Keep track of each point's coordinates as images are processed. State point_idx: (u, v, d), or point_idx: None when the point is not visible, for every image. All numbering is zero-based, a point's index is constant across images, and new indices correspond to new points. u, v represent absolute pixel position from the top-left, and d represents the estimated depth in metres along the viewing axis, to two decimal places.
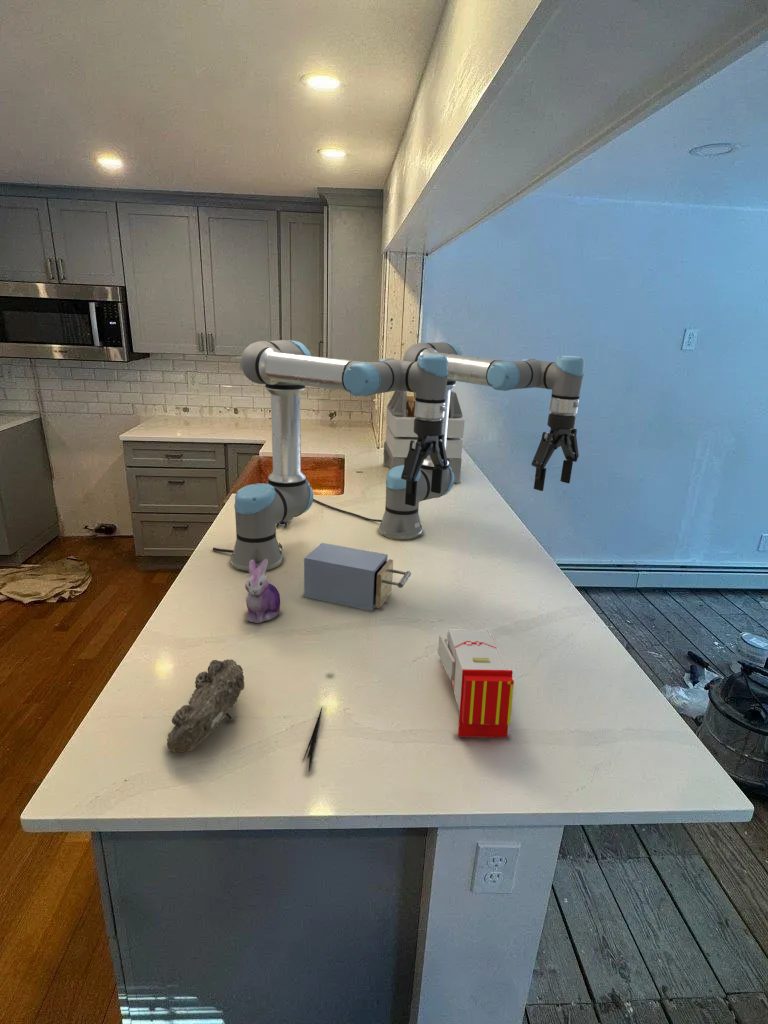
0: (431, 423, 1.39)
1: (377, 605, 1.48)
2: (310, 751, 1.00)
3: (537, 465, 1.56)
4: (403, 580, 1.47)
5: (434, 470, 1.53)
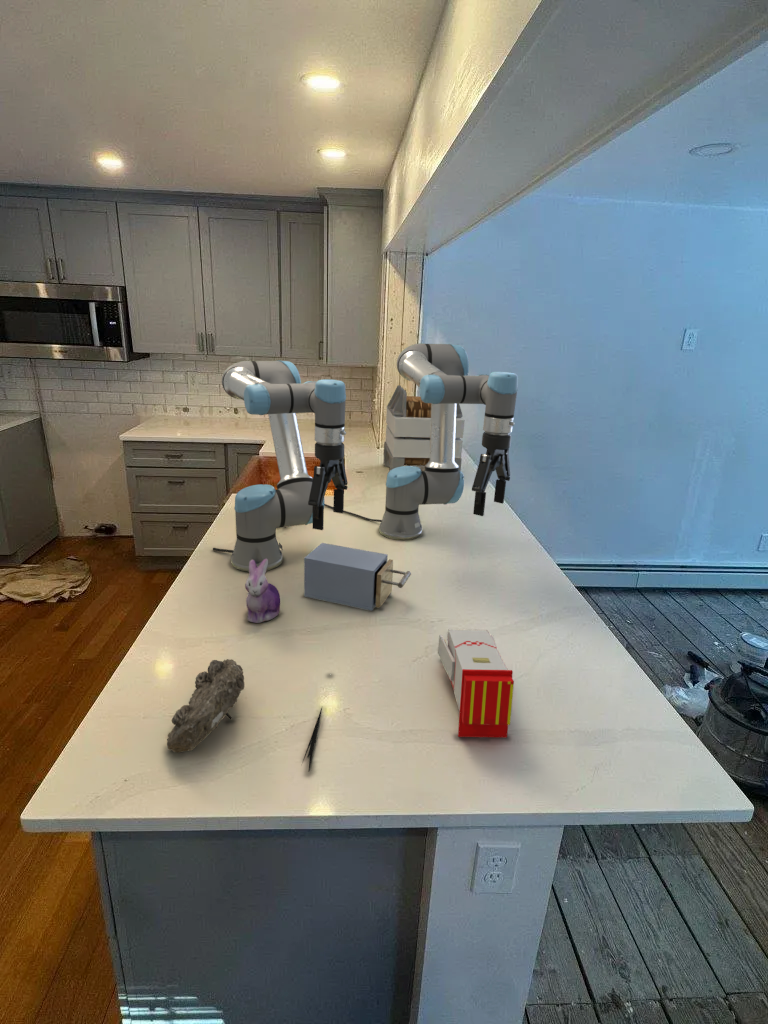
0: (333, 447, 1.41)
1: (377, 605, 1.48)
2: (310, 751, 1.00)
3: (478, 490, 1.46)
4: (403, 580, 1.47)
5: (335, 491, 1.55)
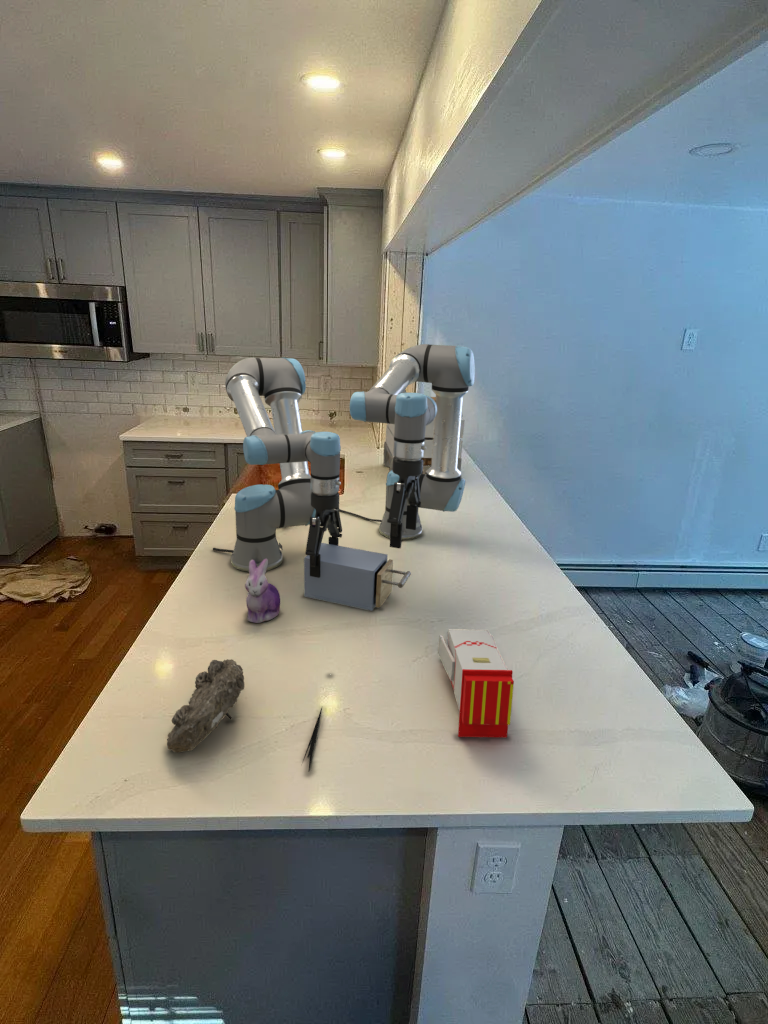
0: (328, 498, 1.45)
1: (377, 605, 1.48)
2: (310, 751, 1.00)
3: (395, 522, 1.34)
4: (403, 580, 1.47)
5: (330, 539, 1.59)
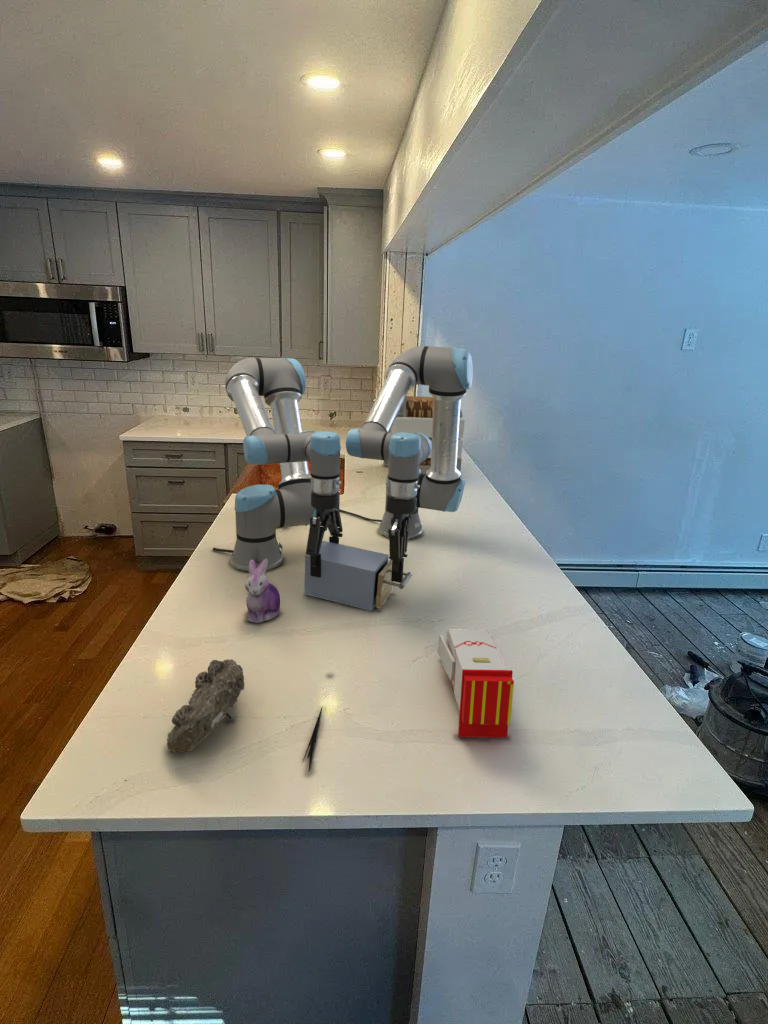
0: (328, 497, 1.45)
1: (377, 605, 1.48)
2: (310, 751, 1.00)
3: (397, 559, 1.43)
4: (404, 581, 1.47)
5: (331, 538, 1.59)
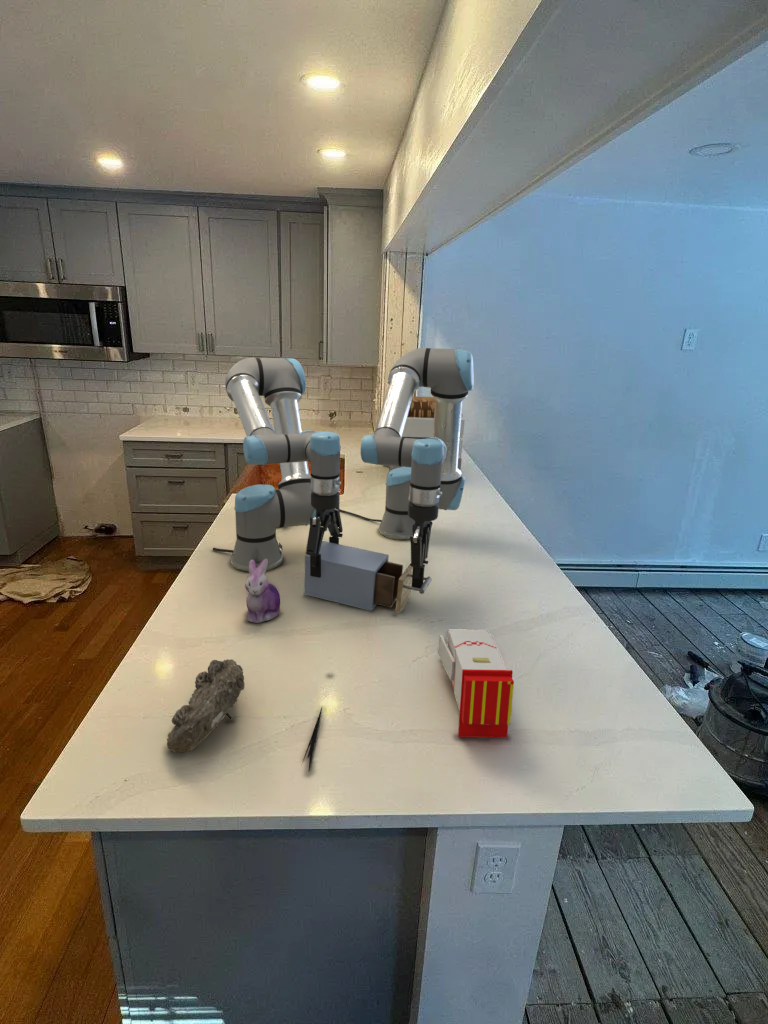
0: (328, 497, 1.45)
1: (397, 610, 1.47)
2: (310, 751, 1.00)
3: (418, 566, 1.42)
4: (424, 586, 1.45)
5: (331, 538, 1.59)
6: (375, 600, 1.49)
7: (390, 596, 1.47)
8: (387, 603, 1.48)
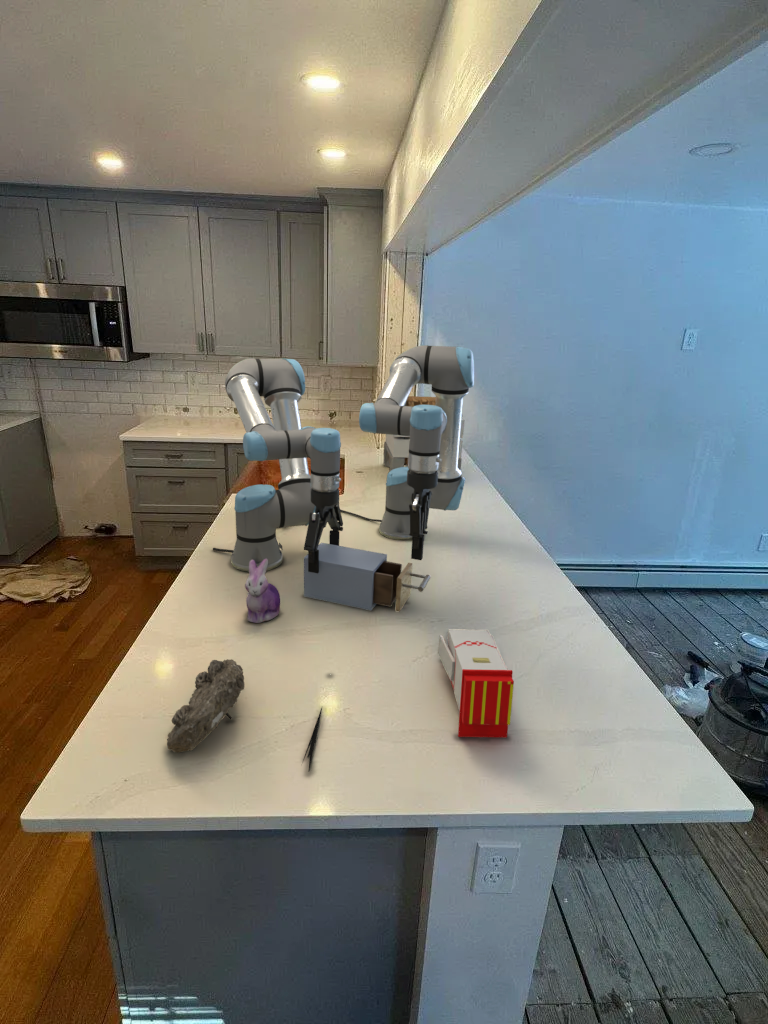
0: (328, 494, 1.45)
1: (397, 609, 1.47)
2: (310, 751, 1.00)
3: (417, 535, 1.40)
4: (423, 584, 1.45)
5: (331, 532, 1.59)
6: (375, 600, 1.49)
7: (389, 595, 1.47)
8: (387, 602, 1.48)
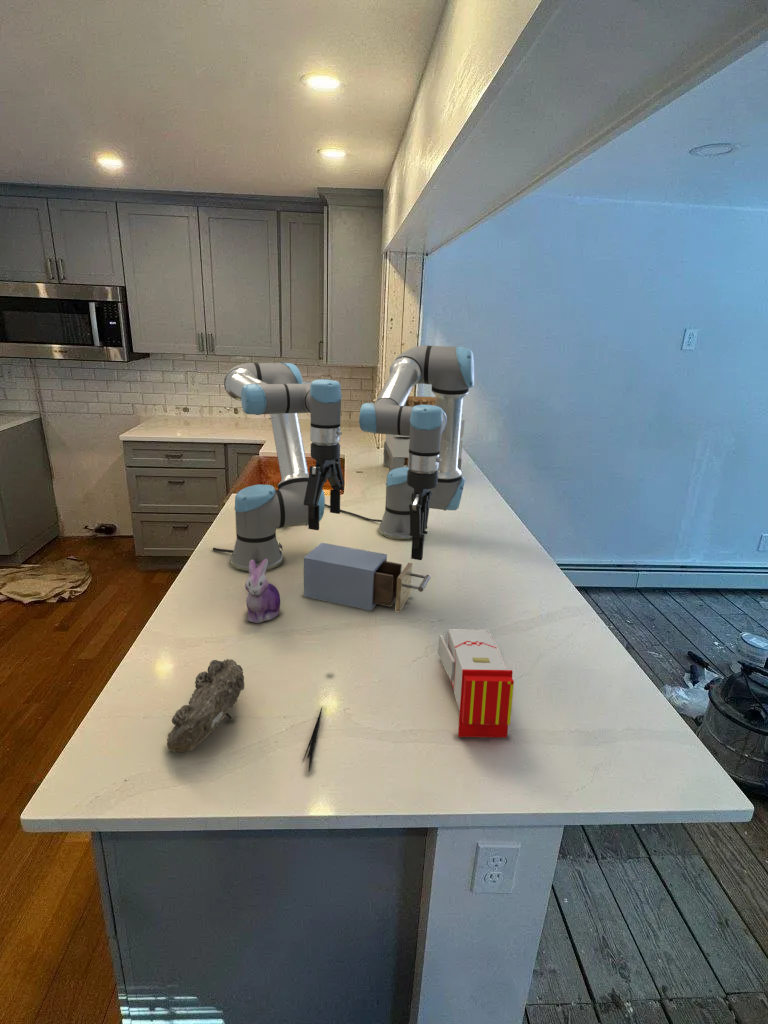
0: (328, 447, 1.41)
1: (397, 609, 1.47)
2: (310, 751, 1.00)
3: (417, 535, 1.40)
4: (423, 584, 1.45)
5: (332, 491, 1.55)
6: (375, 600, 1.49)
7: (389, 595, 1.47)
8: (387, 602, 1.48)
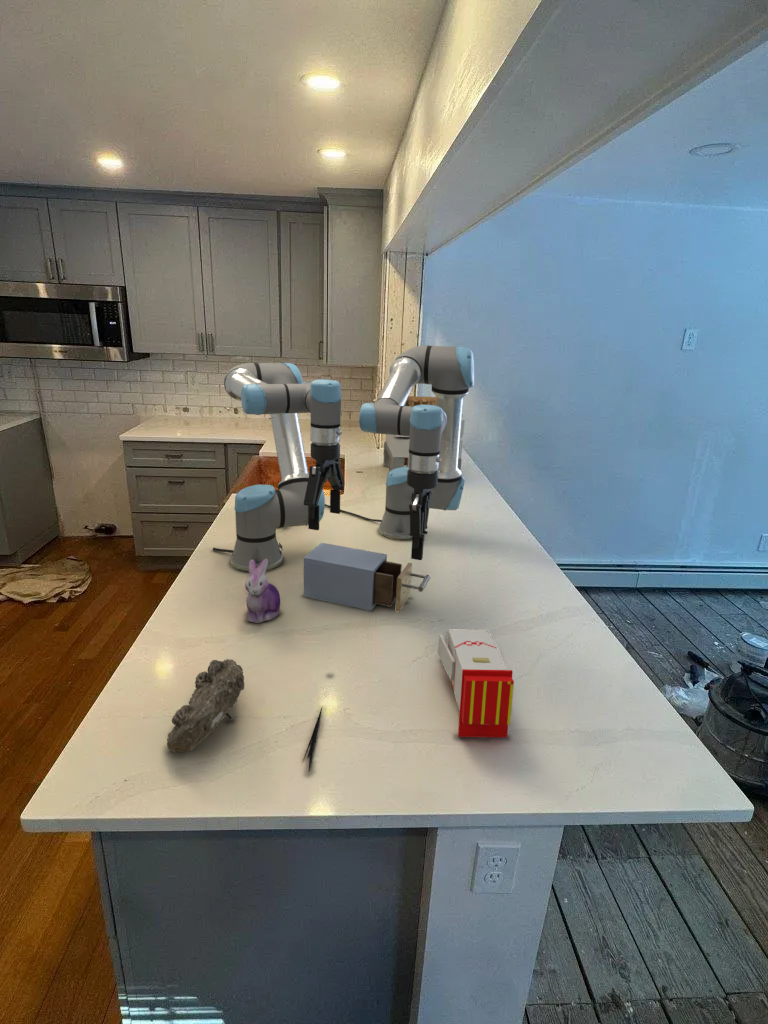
0: (328, 447, 1.41)
1: (397, 609, 1.47)
2: (310, 751, 1.00)
3: (417, 535, 1.40)
4: (423, 584, 1.45)
5: (332, 491, 1.55)
6: (375, 600, 1.49)
7: (389, 595, 1.47)
8: (387, 602, 1.48)
